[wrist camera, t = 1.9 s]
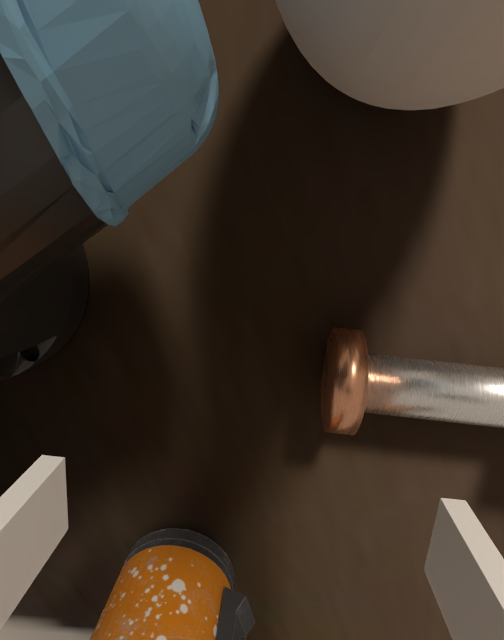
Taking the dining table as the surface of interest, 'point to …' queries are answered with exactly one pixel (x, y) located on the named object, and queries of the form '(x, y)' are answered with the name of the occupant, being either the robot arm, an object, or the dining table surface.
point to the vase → (402, 48)
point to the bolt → (403, 387)
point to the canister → (175, 592)
